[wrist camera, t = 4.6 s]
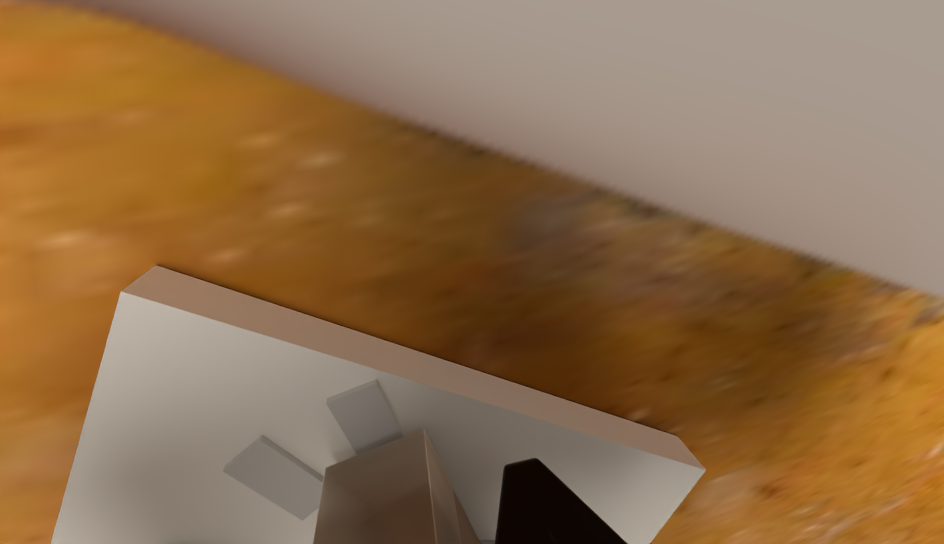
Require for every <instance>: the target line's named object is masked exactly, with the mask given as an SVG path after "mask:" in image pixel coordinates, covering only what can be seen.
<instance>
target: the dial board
mask: <svg viewBox="0 0 944 544" xmlns="http://www.w3.org/2000/svg"><path fill="white" fill-rule="evenodd" d="M422 429H425V431H426V433H427V435H428V437H429V439H430V441H431V443H432V445H433V447H434V449H435V451H436V453H437V455H438V457H439V459H440V461H441V463H442V465H443V467H444V469H445V471H446V473H447V475H448V477H449V479H450V481H451V483H452V487H453V489H454V491H455V493H456V495H457V497H458V499H459V501H460V503H461V505H462V507H463V509H464V511H465V513H466V515H467V517H468V519H469V521H470V523H471V525H472V527H473V529H474V531H475V533H476V535H477V537H478V539H479V541H480V543H481V544H495V537H496V528H497V520H498V511H499V503H500V494H501V485H502V477H503V469H504V466H505V465H506V464H510V463H514V462H518V461H522V460H526V459H531V458H538V459H539V460H540V461H541V462H542V463H543V464H545V465H546V466H547V467H548V468H549V469H550V470H551V471H552V472H553V473H554V474H555V475H556V476H557V477H558V478H559V479H560V480H561V481H562V482H563V483H565V484H566V485H567V486H568V487H569V488H570V489H571V490H572V491H573V492H574V493H575V494H576V495H577V496H578V497H579V498H580V499H581V500H582V501H583V502H584V503H586V504H587V505H588V506H589V507H590V508H591V509H592V510H593V511H594V512H595V513H596V514H597V515H598V516H599V517H600V518H601V519H602V520H603V521H604V522H606V523H607V524H608V525H609V526H610V527H611V528H612V529H613V530H614V531H615V532H616V533H617V534H618V535H619V536H620V537H621V538H622V539H623V540H624V541H626V542H627V543H628V544H650V543H651V541H652V540H653V539H654V537H655V536H656V535H657V534H658V532H659V531H660V530H661V528H662V527H663V526H664V524H665V523H666V522H667V521H668V519H669V518H670V517H671V515H672V514H673V513H674V511H675V510H676V509H677V508H678V506H679V505H680V504H681V502H682V501H683V500H684V498H685V497H686V496H687V495H688V493H689V492H690V491H691V489H692V488H693V487H694V485H695V484H696V483H697V482H698V480H699V479H700V478H701V476H702V475H703V474H704V472H705V471H706V469H705V468H704V467H703V466H702V465H701V463H700V462H699V461H698V460H697V459H696V457H695V456H694V455H693V454H692V453H691V451H690V450H689V449H688V448H687V447H686V446H685V444H684V443H683V442H682V441H681V440H680V438H679V437H678V436H675V435H672V434H669V433H666V432H663V431H660V430H657V429H653V428H650V427H647V426H644V425H641V424H638V423H635V422H632V421H629V420H626V419H623V418H620V417H617V416H614V415H611V414H608V413H605V412H602V411H599V410H596V409H593V408H590V407H586V406H583V405H580V404H577V403H574V402H571V401H568V400H565V399H562V398H559V397H556V396H553V395H550V394H547V393H544V392H541V391H538V390H535V389H532V388H529V387H526V386H523V385H520V384H516V383H513V382H510V381H507V380H504V379H501V378H498V377H495V376H492V375H489V374H486V373H483V372H480V371H477V370H474V369H471V368H468V367H465V366H462V365H459V364H456V363H453V362H449V361H446V360H443V359H440V358H437V357H434V356H431V355H428V354H425V353H422V352H419V351H416V350H413V349H410V348H407V347H404V346H401V345H398V344H395V343H392V342H389V341H386V340H382V339H379V338H376V337H373V336H370V335H367V334H364V333H361V332H358V331H355V330H352V329H349V328H346V327H343V326H340V325H337V324H334V323H331V322H328V321H325V320H322V319H319V318H316V317H312V316H309V315H306V314H303V313H300V312H297V311H294V310H291V309H288V308H285V307H282V306H279V305H276V304H273V303H270V302H267V301H264V300H261V299H258V298H255V297H252V296H249V295H245V294H242V293H239V292H236V291H233V290H230V289H227V288H224V287H221V286H218V285H215V284H212V283H209V282H206V281H203V280H200V279H197V278H194V277H191V276H188V275H185V274H182V273H179V272H175V271H172V270H169V269H166V268H163V267H160V266H157V265H155V266H154V267H152V268H151V269H150V270H148V271H147V272H146V273H144V274H143V275H142V276H140V277H139V278H138V279H136V280H135V281H134V282H132V283H131V284H130V285H129V286H127V287H126V288H125V289H123V290H122V291H121V293H120V296H119V300H118V303H117V307H116V311H115V314H114V318H113V321H112V325H111V328H110V332H109V336H108V339H107V343H106V346H105V350H104V354H103V357H102V361H101V364H100V368H99V372H98V375H97V379H96V382H95V386H94V390H93V393H92V397H91V400H90V404H89V407H88V411H87V415H86V418H85V422H84V425H83V429H82V433H81V436H80V440H79V443H78V447H77V451H76V454H75V458H74V461H73V465H72V469H71V472H70V476H69V479H68V483H67V486H66V490H65V494H64V497H63V501H62V504H61V508H60V512H59V515H58V519H57V522H56V526H55V530H54V533H53V537H52V540H51V544H313V541H314V535H315V529H316V523H317V516H318V510H319V504H320V498H321V491H322V485H323V479H324V473H325V468H326V467H329V466H331V465H334V464H336V463H339V462H341V461H344V460H346V459H349V458H351V457H354V456H356V455H359V454H361V453H364V452H366V451H369V450H371V449H374V448H376V447H379V446H381V445H384V444H387V443H389V442H392V441H394V440H397V439H399V438H402V437H404V436H407V435H409V434H412V433H414V432H417V431H419V430H422Z"/></svg>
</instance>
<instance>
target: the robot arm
mask: <svg viewBox="0 0 944 544" xmlns="http://www.w3.org/2000/svg"><path fill="white" fill-rule="evenodd" d="M495 544H628V543H627V542H626V541H624V540H623V539H622V538H621V537H620V536H619V535H618V534H617V533H616V532H615V531H614V530H613V529H612V528H611V527H610V526H609V525H608V524H607V523H606V522H604V521H603V520H602V519H601V518H600V517H599V516H598V515H597V514H596V513H595V512H594V511H593V510H592V509H591V508H590V507H589V506H588V505H587V504H586V503H584V502H583V501H582V500H581V499H580V498H579V497H578V496H577V495H576V494H575V493H574V492H573V491H572V490H571V489H570V488H569V487H568V486H567V485H566V484H565V483H563V482H562V481H561V480H560V479H559V478H558V477H557V476H556V475H555V474H554V473H553V472H552V471H551V470H550V469H549V468H548V467H547V466H546V465H545V464H543V463H542V462H541V461H540V460H539V459H538V458H531V459H526V460H522V461H518V462H514V463H510V464H506V465H505V466H504V469H503V477H502V485H501V494H500V503H499V511H498V520H497V528H496V537H495Z"/></svg>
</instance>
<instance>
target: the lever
mask: <svg viewBox="0 0 944 544" xmlns="http://www.w3.org/2000/svg"><path fill="white" fill-rule="evenodd" d="M313 544H481V543H480V541H479V539H478V537H477V535H476V533H475V531H474V529H473V527H472V525H471V523H470V521H469V519H468V517H467V515H466V513H465V511H464V509H463V507H462V505H461V503H460V501H459V499H458V497H457V495H456V493H455V491H454V489H453V487H452V483H451V481H450V479H449V477H448V475H447V473H446V471H445V469H444V467H443V465H442V463H441V461H440V459H439V457H438V455H437V453H436V451H435V449H434V447H433V445H432V443H431V441H430V439H429V437H428V435H427V433H426V431H425V429H422V430H419V431H417V432H414V433H412V434H409V435H407V436H404V437H402V438H399V439H397V440H394V441H392V442H389V443H387V444H384V445H381V446H379V447H376V448H374V449H371V450H369V451H366V452H364V453H361V454H359V455H356V456H354V457H351V458H349V459H346V460H344V461H341V462H339V463H336V464H334V465H331V466H329V467H326V468H325V473H324V479H323V485H322V491H321V498H320V504H319V510H318V516H317V523H316V529H315V535H314V541H313Z"/></svg>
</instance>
